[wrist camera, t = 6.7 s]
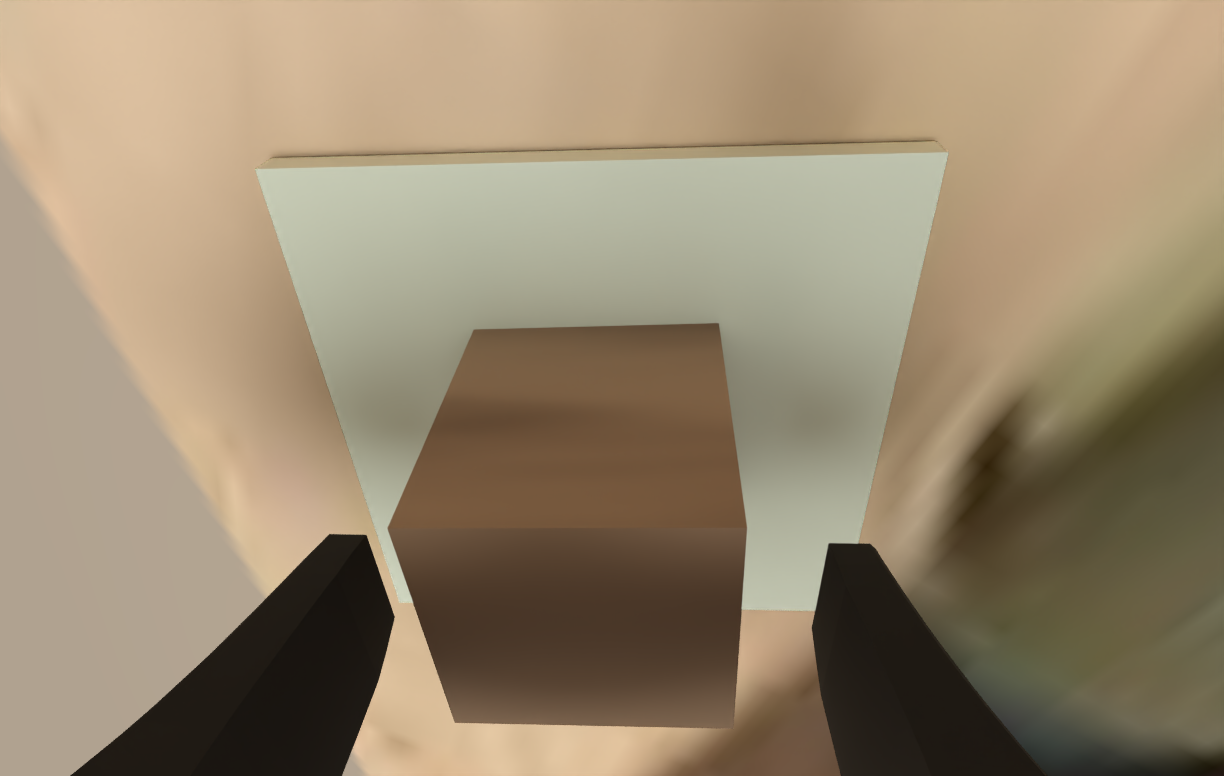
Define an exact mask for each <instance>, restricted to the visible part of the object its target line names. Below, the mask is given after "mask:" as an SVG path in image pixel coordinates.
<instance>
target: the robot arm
mask: <svg viewBox="0 0 1224 776" xmlns="http://www.w3.org/2000/svg"><path fill="white" fill-rule="evenodd" d="M394 618H395V616H394V614H393V611H392V608H391V605H390V602H389V599H388V596H387V593H386V590H385V588H384V585H383V582H382V579H381V576H380V573H379V570H378V567H377V564H376V561H375V559H374V556H373V553H372V550H371V547H370V544H369V541H368V538H367V535H341V534H329V535H328V536H327V537H326V538H325V539H324V540H323V541H322V542H321V543H320V544H319V545H318V546H317V547H316V548H315V549H314V550H313V551H312V552H311V553H310V554H309V555H308V556H307V557H306V558H305V559H304V560H303V561H302V562H301V563H300V564H299V565H298V566H297V567H296V568H295V569H294V570H293V572H292V573H291V574H290V575H289V576H288V577H287V578H286V579H285V580H284V581H283V582H282V583H281V584H280V585H279V586H278V587H277V588H276V589H275V590H274V591H273V592H272V593H271V594H270V595H269V596H268V597H267V598H266V599H265V600H264V601H263V602H262V603H261V604H260V605H259V607H257V608H256V609H255V610H254V611H253V612H252V613H251V615H249V616H248V617H247V618H246V619H245V620H244V621H243V622H242V623H241V625H239V626H238V627H237V628H236V629H235V630H234V631H233V632H232V633H231V634H230V635H229V636H228V637H227V638H226V639H225V640H224V641H223V642H222V643H221V644H220V645H219V646H218V647H217V648H216V649H215V650H214V651H213V652H212V653H211V654H210V655H209V656H208V657H207V658H205V659H204V660H203V661H202V662H201V663H200V664H199V665H198V666H197V667H196V668H195V669H194V670H193V671H191V673H189V674H188V675H187V676H186V677H185V678H184V679H183V680H182V681H181V682H180V683H179V684H177V685H176V686H175V687H174V688H173V689H172V690H171V691H170V692H169V693H168V694H167V695H166V696H165V697H163V698H162V699H161V700H160V701H159V702H158V703H157V704H156V705H154V706H153V707H152V708H151V709H150V710H149V711H148V712H147V713H145V714H144V715H143V716H142V717H141V718H140V719H139V720H137V721H136V722H135V723H134V724H133V725H132V726H131V727H129V728H128V729H127V730H126V731H125V732H123V733H122V734H121V735H120V736H119V737H118V738H116V739H115V740H114V741H113V742H111V743H110V744H109V745H108V746H106V747H105V748H104V749H103V750H101V751H100V752H99V753H98V754H97V755H95V756H94V757H93V758H92V759H90V760H89V761H88V762H87V763H86V764H84V765H83V766H82V767H81V768H79V769H78V770H77V771H76V772H74V773H73V774H72V775H71V776H342V774H343V771H344V769H345V766H346V763H347V761H348V759H349V756H350V753H351V751H352V748H353V746H354V743H355V741H356V738H357V736H358V733H359V730H360V728H361V725H362V723H363V720H364V717H365V715H366V712H367V709H368V707H369V704H370V702H371V699H372V696H373V694H374V691H375V688H376V686H377V683H378V680H379V677H380V673H381V669H382V666H383V662H384V658H385V655H386V651H387V647H388V642H389V638H390V634H391V630H392V626H393V622H394ZM812 632H813V640H814V648H815V655H816V663H817V670H818V677H819V684H820V691H821V696H822V701H823V705H824V709H825V713H826V717H827V721H828V725H829V729H830V733H831V737H832V741H833V745H834V750H835V753H836V757H837V761H838V765H839V769H840V773H841V776H1047V774H1046V773H1045V772H1044V771H1043V770H1042V769H1041V768H1040V767H1039V766H1038V764H1037V763H1036V762H1035V761H1034V760H1033V759H1032V757H1031V756H1030V755H1029V754H1028V753H1027V752H1026V751H1025V749H1024V748H1023V747H1022V746H1021V745H1020V744H1019V742H1018V741H1017V740H1016V739H1015V738H1014V736H1013V735H1012V734H1011V733H1010V732H1009V730H1008V729H1007V728H1006V727H1005V726H1004V724H1003V723H1002V722H1001V721H1000V720H999V718H998V717H997V716H996V715H995V714H994V712H993V711H992V710H991V709H990V708H989V706H988V705H987V704H986V702H985V701H984V700H983V699H982V697H981V696H980V695H979V694H978V692H977V691H976V690H975V689H974V687H973V686H972V685H971V684H970V682H969V681H968V680H967V678H966V677H965V676H964V674H963V673H962V672H961V670H960V669H959V668H958V666H957V665H956V664H955V663H954V661H953V660H952V659H951V657H950V656H949V655H948V653H947V652H946V651H945V649H944V648H943V647H942V645H941V644H940V643H939V641H938V640H937V639H936V637H935V636H934V634H933V633H932V632H931V630H930V629H929V628H928V626H927V625H926V623H925V622H924V620H923V619H922V618H921V616H920V615H919V613H918V612H917V610H916V609H915V608H914V606H913V605H912V603H911V602H910V600H909V599H908V598H907V596H906V595H905V593H904V592H903V590H902V589H901V587H900V586H899V584H898V583H897V581H896V580H895V578H894V577H893V575H892V574H891V572H890V571H889V569H888V568H887V566H886V564H885V563H884V561H883V560H882V558H881V557H880V555H879V554H878V552H877V550H876V549H875V548H874V547H873V546H872V545H871V544H853V543H828V549H827V554H826V559H825V564H824V569H823V574H822V579H821V584H820V589H819V595H818V600H817V605H816V610H815V615H814V620H813V625H812Z"/></svg>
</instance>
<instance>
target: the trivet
mask: <svg viewBox="0 0 1224 776" xmlns="http://www.w3.org/2000/svg"><path fill="white" fill-rule="evenodd" d="M948 154H949V152H948V151H947V150H946V149H945V148H943V147H942V146H941V145H940V144H939V143H938V142H937V141H920V142H880V143H841V144H802V145H762V146H723V147H684V148H645V149H605V150H566V151H527V152H487V153H448V154H409V155H369V156H330V157H291V158H271V159H269V160H268V161H266V162H265V163H263V164H262V165H260V166H259V167H257V168H256V169H255V171H256V174H257V177H258V180H259V183H260V186H261V189H262V192H263V195H264V198H265V201H266V204H267V207H268V210H269V213H270V216H271V219H272V222H273V225H274V228H275V231H276V234H277V237H278V240H279V243H280V246H281V249H282V252H283V255H284V258H285V261H286V264H287V267H288V270H289V273H290V276H291V279H292V282H293V285H294V288H295V291H296V294H297V297H298V300H299V303H300V306H301V309H302V312H303V315H304V318H305V321H306V324H307V327H308V330H309V333H310V336H311V339H312V342H313V345H314V348H315V351H316V354H317V357H318V360H319V363H320V366H321V369H322V372H323V375H324V378H325V381H326V384H327V387H328V389H329V392H330V395H331V398H332V401H333V404H334V407H335V410H336V413H337V416H338V419H339V422H340V425H341V428H342V431H343V434H344V437H345V440H346V443H347V446H348V449H349V452H350V455H351V458H352V461H353V464H354V467H355V470H356V473H357V476H358V479H359V482H360V485H361V488H362V491H363V494H364V497H365V500H366V503H367V506H368V509H369V512H370V515H371V518H372V521H373V524H374V527H375V530H376V533H377V536H378V539H379V542H380V545H381V548H382V551H383V554H384V557H385V560H386V563H387V566H388V569H389V572H390V575H391V578H392V581H393V584H394V587H395V590H396V593H397V596H398V599H399V602H400V603H413V601H412V598H411V595H410V592H409V589H408V587H407V584H406V581H405V578H404V575H403V572H402V569H401V567H400V564H399V561H398V558H397V555H396V552H395V549H394V546H393V544H392V541H391V538H390V535H389V532H388V529H387V528H388V526H389V523H390V521H391V519H392V516H393V514H394V512H395V510H396V507H397V505H398V503H399V500H400V498H401V496H402V493H403V491H404V489H405V487H406V484H407V482H408V480H409V477H410V475H411V473H412V470H413V468H414V466H415V463H416V461H417V459H418V457H419V454H420V452H421V450H422V447H423V445H424V443H425V440H426V438H427V436H428V434H429V431H430V429H431V427H432V424H433V422H434V420H435V417H436V415H437V413H438V411H439V408H440V406H441V404H442V401H443V399H444V397H445V394H446V392H447V390H448V388H449V385H450V383H451V381H452V378H453V376H454V374H455V371H456V369H457V367H458V365H459V362H460V360H461V358H462V355H463V353H464V351H465V348H466V346H467V344H468V342H469V339H470V337H471V335H472V332H473V330H474V329H512V328H551V327H590V326H628V325H667V324H706V323H719V328H720V335H721V342H722V350H723V357H724V364H725V371H726V379H727V386H728V393H729V400H730V407H731V415H732V422H733V429H734V436H735V444H736V451H737V458H738V465H739V472H740V480H741V487H742V494H743V501H744V509H745V516H746V523H747V537H746V552H745V567H744V581H743V596H742V610H785V611H815V610H816V605H817V600H818V595H819V589H820V584H821V579H822V574H823V569H824V564H825V559H826V554H827V549H828V543H853V544H858V542H859V538H860V534H861V529H862V525H863V521H864V516H865V512H866V508H867V503H868V499H869V495H870V490H871V486H872V482H873V477H874V473H875V469H876V465H877V460H878V456H879V452H880V447H881V443H882V439H883V434H884V430H885V426H886V421H887V417H888V413H889V408H890V404H891V400H892V395H893V391H894V387H895V383H896V378H897V374H898V370H899V365H900V361H901V357H902V352H903V348H904V344H905V339H906V335H907V331H908V326H909V322H910V318H911V314H912V309H913V305H914V301H915V296H916V292H917V288H918V283H919V279H920V275H921V270H922V266H923V262H924V257H925V253H926V249H927V244H928V240H929V236H930V232H931V227H932V223H933V219H934V214H935V210H936V206H937V201H938V197H939V193H940V188H941V184H942V180H943V175H944V171H945V167H946V163H947V158H948Z"/></svg>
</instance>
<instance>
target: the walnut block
mask: <svg viewBox="0 0 1224 776" xmlns="http://www.w3.org/2000/svg"><path fill="white" fill-rule="evenodd" d="M387 529H388V532H389V535H390V538H391V541H392V544H393V546H394V549H395V552H396V555H397V558H398V561H399V564H400V567H401V569H402V572H403V575H404V578H405V581H406V584H407V587H408V589H409V592H410V595H411V598H412V601H413V604H414V607H415V610H416V612H417V615H418V618H419V621H420V624H421V627H422V630H423V632H424V635H425V638H426V641H427V644H428V647H429V650H430V653H431V655H432V658H433V661H434V664H435V667H436V670H437V673H438V676H439V678H440V681H441V684H442V687H443V690H444V693H445V696H446V698H447V701H448V704H449V707H450V710H451V713H452V716H453V719H454V721H455V723H493V724H540V725H587V726H634V727H681V728H727V729H733V727H734V712H735V698H736V683H737V669H738V654H739V639H740V625H741V610H742V596H743V581H744V567H745V552H746V537H747V523H746V516H745V509H744V501H743V494H742V487H741V480H740V472H739V465H738V458H737V451H736V444H735V436H734V429H733V422H732V415H731V407H730V400H729V393H728V386H727V379H726V371H725V364H724V357H723V350H722V342H721V335H720V328H719V323H706V324H667V325H628V326H590V327H551V328H512V329H474V330H473V332H472V335H471V337H470V339H469V342H468V344H467V346H466V348H465V351H464V353H463V355H462V358H461V360H460V362H459V365H458V367H457V369H456V371H455V374H454V376H453V378H452V381H451V383H450V385H449V388H448V390H447V392H446V394H445V397H444V399H443V401H442V404H441V406H440V408H439V411H438V413H437V415H436V417H435V420H434V422H433V424H432V427H431V429H430V431H429V434H428V436H427V438H426V440H425V443H424V445H423V447H422V450H421V452H420V454H419V457H418V459H417V461H416V463H415V466H414V468H413V470H412V473H411V475H410V477H409V480H408V482H407V484H406V487H405V489H404V491H403V493H402V496H401V498H400V500H399V503H398V505H397V507H396V510H395V512H394V514H393V516H392V519H391V521H390V523H389V526H388V528H387Z"/></svg>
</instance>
